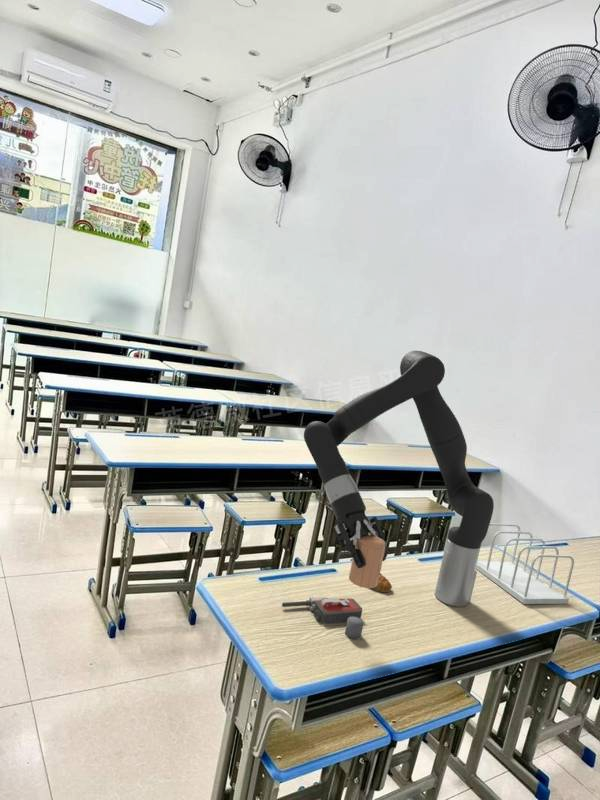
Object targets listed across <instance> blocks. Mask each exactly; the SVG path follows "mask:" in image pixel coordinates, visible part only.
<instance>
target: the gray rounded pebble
mask: <svg viewBox="0 0 600 800" xmlns="http://www.w3.org/2000/svg"><path fill="white" fill-rule="evenodd" d="M363 628H364V621H363V619H362V618H361V619H360V618H358V617H349V618H348V620H347V622H346V626H345V631H344V634H345V636H346V637H347V638H349V639H351V640H359V639H362V633H363Z"/></svg>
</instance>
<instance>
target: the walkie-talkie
mask: <svg viewBox="0 0 600 800" xmlns="http://www.w3.org/2000/svg"><path fill="white" fill-rule="evenodd" d="M281 606H282V607H283V608H287V607H301V606H302V607H303V606H306V607H309V611H310V612H312V613H313V614H314V617H315V619H316V620H318V621H319V622H320V624H333V623H342V622H346V623H347V620H348V618H349V617H358V618H360V619H361V620H362V618H361V617H362V614H363V608H362V607H361V605H360V604H359V603H358V602H357V601H356V600H355V599H354V598H349V597H344V598H338V597H336V596H335V597H334V596H333V597H325V596H320V597H309V598H308V599H307V600H303V601H287V602H282V603H281Z"/></svg>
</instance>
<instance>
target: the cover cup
mask: <svg viewBox="0 0 600 800" xmlns="http://www.w3.org/2000/svg"><path fill="white" fill-rule="evenodd" d="M358 542H359V549H360V550H361V553H362V555H363V557H364V560H365V562H366V566H364V567H362V568H358V567H357V566H356V564H355V562H354V559H353V558H352V560H351V565H350V570H349V573H348V580H349V581H350V582H351V583H352V584H353V585H356V586H358V587H360V588H365V589H372V588H374V587H376V586H377V585H378V580H379V576H380V573H381V571H382V565H383V562H384V561H383V557H384V553H385V552H386V546H387V545H386V544H387V542H386V541H385V539H384V540H382V539H381V538H379V536H378V537H376V536H372V535H366V536H361V537H360V540H358ZM359 549H358V550H359Z"/></svg>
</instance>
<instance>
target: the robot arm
mask: <svg viewBox="0 0 600 800" xmlns="http://www.w3.org/2000/svg"><path fill="white" fill-rule="evenodd" d="M399 371H400V376H399V377H398V378H396V379H395V380H393V381H391V382H389V383H388V384H385V385H383V386H380V387H379V388H375V389H373V390H370V391H367V392H365V393H363V394H361V395H358V396H357V397H355V398H354V399H352V400H350V401H349V402H347V403H346V404H344V405H343V406H341V407H340V408H339V409H337V410H336V411H335V412H334V415H333V417H332V418H331V419H330V420H329V421H328V422H326V423H325V422H323V421H319V420H315V421H311V422H310V423H308V424H307V426H306V427H305V428H304V430H303V431H304V432H303V439H304V442H305V445H306V447H307V449H308V451H309V453H310V455H311V457H312V459H313V461H314V463H315V465H316V467H317V470H318V471H317V472H318V474H319V477H320V479H321V481H322V484H323V487H324V490H325V495H326V497H327V500H328V501H329V505H330V507H331V509H332V512H333V514H334V516H335V519H336V521H338V522H339V523H338V524H336V525H335V526H333V527H332V530H333V533H334V535H335V537H336V539H337V542H338V543H339V546H340V548H341V550H342V551H343V552H344V553H345V552H348V553H349V554H351V557H352V559H354V562H355V564H356V566H357V567H358V568H362V567H364V566H366V562H365V560H364V557H363V555H362V553H361V550H360V549H359V542H358V540H360V537H361V536H366V535H372V536H376V537H379V538H381V539H382V540H384V541H385V535H384V533H383V530H382V528H381V525H380V523H379V521H378V518H377V517H376V516H373V517H371V518H369V517H367V515H366V513H365V512H366V510H367V507H366V505H365V503H364V501H363V497H362V496H361V493H360V491H359V489H358V486H357V484H356V482H355V481H354V479H353V477H352V476H351V472H350V471H349V468H348V466H347V463H346V462H345V460H344V458H343V457H342V455H341V454H340V451H339V448H338V446H339V445H341V444H342V443H343V442H344V441H345V440H346V439H347V438H348V437H349V436H350V435H351V434H353V433H354V432H356V431H358V430H359V429H361V428H362V427H364V426H365V425H367V424H368V423H370V422H372V421H374V419H377V418H378V417H380V416H381V415H382V414H384V413H386V412H388V411H389V410H392V409H394V408H395V407H397V406H399V405H401V404H404V403H406V402H407V401H409V400H411V399H412V400H413V402H414V404H415V407H416V409H417V413H418V415H419V418H420V421H421V424H422V427H423V430H424V432H425V435H426V438H427V441H428V444H429V446H430V448H431V449H430V450H431V451H432V453H433V457H435V461H436V463H437V466H438V468H439V472H440V473H441V476H442V479H443V482H444V486H445V489H446V493H447V497H448V501H449V505H450V507H451V509H452V510H454V512H455V513H456V514H457V515H460V516H461V517H462V518H461V521H460V524H459V526H451V527H450V528H449V529H448V532H447V536H446V541H445V545H444V549H443V553H442V560H441V562H440V563H441V564H440V568H439V573H438V577H437V582H436V585H435V590H434V596H435V597H436V598H437V599H438V600H439V601H440V602H442V603H444V604H447V605H449V606H452V607H457V608H459V607H460V608H462V607H466V606H467V605H468V604H469V603H471V601H472V595H473V591H474V587H475V582H476V578H477V573H478V570H477V569H476V564H477V561H479V556H478V555H480V551H481V547H482V542H483V541H484V540H485V539H486V536H487V535H488V532H489V526H490V525H489V524H490V523H491V520H492V517H493V514H494V506H495V504H494V499H493V497H492V496H491V494H490V493H489V492H486V491H485V490H483V489H481V488H479V487H477V486H476V485H475V484H474V483H473V481H472V480H471V478H470V475H469V474H468V471H467V468H466V459H467V451H468V445H467V441H466V438H465V435H464V432H463V430H462V426H461V424H460V423H459V421H458V419H457V417H456V415H455V413H454V412H453V410H452V409H451V407H449V405H448V404H447V402H446V401H445V399H444V397H443V395H442V394H441V392H440V390H439V387H438V386H439V385H440V384H441V383H442V382H443V380H444V378H445V373H446V370H445V364H444V363H443V362H442V360H441V359H440V358H439V357H437V356H435V355H433V354H431V353H428V352H425V351H422V350H411V351H408V352H407V353H405V354H404V356H403V357H402V359H401V361H400V366H399ZM377 534H378V535H377ZM358 549H359V550H358ZM386 560H387V557H386V553H385V552H384V557H383V561H382V562H384V561H386Z"/></svg>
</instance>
